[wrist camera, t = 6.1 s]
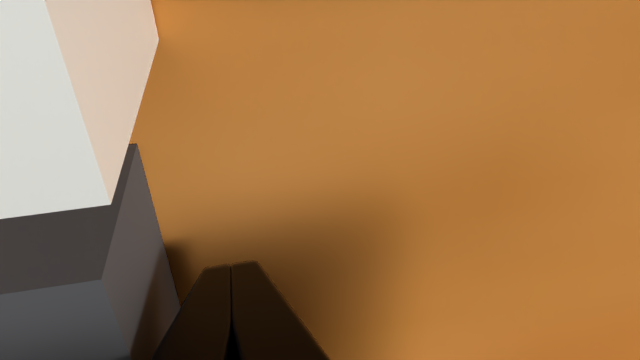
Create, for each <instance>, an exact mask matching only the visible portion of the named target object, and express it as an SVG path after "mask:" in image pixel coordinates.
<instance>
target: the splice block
mask: <svg viewBox="0 0 640 360" xmlns="http://www.w3.org/2000/svg"><path fill="white" fill-rule="evenodd" d="M180 308H181V307H180V303H179V300H178V296H177V292H176V288H175V285H174V281H173V277H172V273H171V270H170V266H169V262H168V258H167V255H166V251H165V247H164V243H163V239H162V236H161V232H160V228H159V224H158V221H157V217H156V213H155V209H154V206H153V202H152V198H151V194H150V191H149V187H148V183H147V179H146V176H145V172H144V168H143V164H142V160H141V157H140V153H139V149H138V145H137V144H130V145H128V148H127V151H126V155H125V158H124V162H123V165H122V168H121V172H120V175H119V179H118V182H117V186H116V189H115V192H114V196H113V199H112V203H111V205H104V206H96V207H88V208H81V209H73V210H65V211H58V212H50V213H43V214H35V215H27V216H20V217H12V218H4V219H0V360H150V359H151V358H152V356H153V354H154V353H155V351H156V349H157V347H158V346H159V344H160V342H161V341H162V339H163V337H164V335H165V334H166V332H167V330H168V329H169V327H170V325H171V324H172V322H173V320H174V318H175V317H176V315H177V313H178V312H179V310H180Z"/></svg>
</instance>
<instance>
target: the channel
mask: <svg viewBox="0 0 640 360" xmlns="http://www.w3.org/2000/svg"><path fill="white" fill-rule="evenodd" d="M158 41H159V38H158V33H157V28H156V24H155V19H154V14H153V10H152V5H151V0H0V219H4V218H12V217H20V216H27V215H35V214H43V213H50V212H58V211H65V210H73V209H81V208H88V207H96V206H104V205H111V203H112V199H113V196H114V192H115V189H116V186H117V182H118V179H119V175H120V172H121V168H122V165H123V162H124V158H125V155H126V151H127V148H128V144H129V141H130V138H131V134H132V131H133V127H134V124H135V120H136V117H137V113H138V110H139V107H140V103H141V100H142V96H143V93H144V89H145V86H146V83H147V79H148V76H149V72H150V69H151V65H152V62H153V59H154V55H155V52H156V48H157V45H158Z"/></svg>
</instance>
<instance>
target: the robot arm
mask: <svg viewBox="0 0 640 360" xmlns="http://www.w3.org/2000/svg"><path fill="white" fill-rule="evenodd" d="M150 360H330V359H329V357H328V356H327V355H326V353H325V352H324V351H323V349H322V348H321V346H320V345H319V344H318V342H317V341H316V340H315V338H314V337H313V336H312V334H311V333H310V332H309V330H308V329H307V328H306V326H305V325H304V323H303V322H302V321H301V319H300V318H299V317H298V315H297V314H296V313H295V311H294V310H293V309H292V307H291V306H290V305H289V303H288V302H287V301H286V299H285V298H284V296H283V295H282V294H281V292H280V291H279V290H278V288H277V287H276V286H275V284H274V283H273V282H272V280H271V279H270V278H269V276H268V275H267V273H266V272H265V271H264V269H263V268H262V267H261V265H260V264H259V263H258V262H257V261H254V260H252V261H245V262H238V263H233V264H232V265H231V266H230V265H229V264H225V265H218V266H211V267H206V268H205V269H204V270H203V271H202V272H201V274H200V276H199V277H198V279H197V281H196V283H195V284H194V286H193V288H192V289H191V291H190V293H189V294H188V296H187V298H186V300H185V301H184V303H183V305H182V306H181V308H180V310H179V312H178V313H177V315H176V317H175V318H174V320H173V322H172V324H171V325H170V327H169V329H168V330H167V332H166V334H165V335H164V337H163V339H162V341H161V342H160V344H159V346H158V347H157V349H156V351H155V353H154V354H153V356H152V358H151V359H150Z"/></svg>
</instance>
